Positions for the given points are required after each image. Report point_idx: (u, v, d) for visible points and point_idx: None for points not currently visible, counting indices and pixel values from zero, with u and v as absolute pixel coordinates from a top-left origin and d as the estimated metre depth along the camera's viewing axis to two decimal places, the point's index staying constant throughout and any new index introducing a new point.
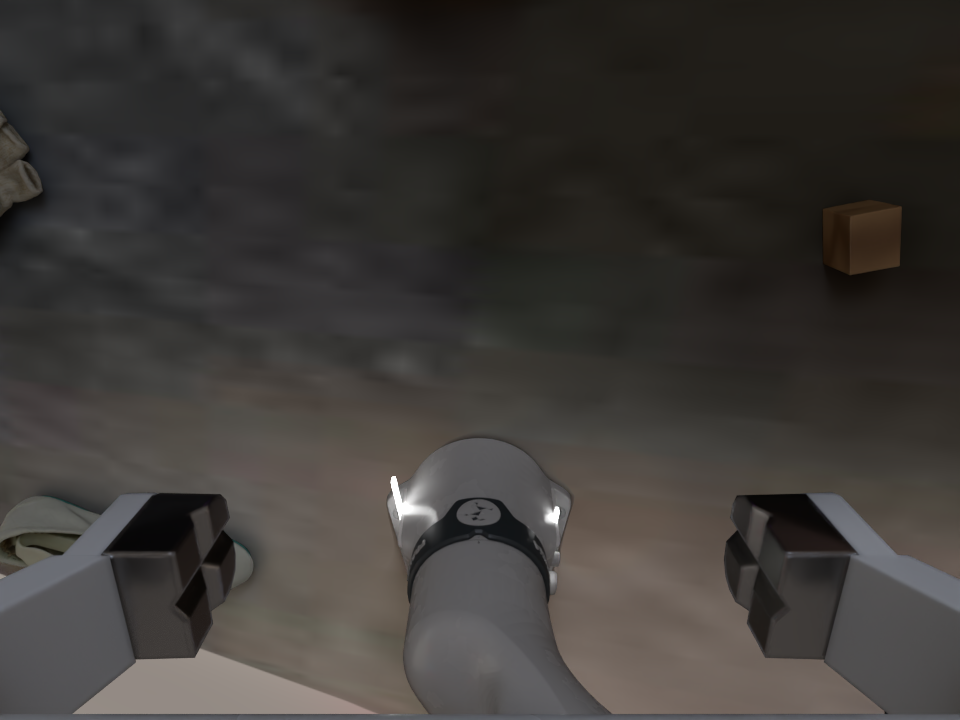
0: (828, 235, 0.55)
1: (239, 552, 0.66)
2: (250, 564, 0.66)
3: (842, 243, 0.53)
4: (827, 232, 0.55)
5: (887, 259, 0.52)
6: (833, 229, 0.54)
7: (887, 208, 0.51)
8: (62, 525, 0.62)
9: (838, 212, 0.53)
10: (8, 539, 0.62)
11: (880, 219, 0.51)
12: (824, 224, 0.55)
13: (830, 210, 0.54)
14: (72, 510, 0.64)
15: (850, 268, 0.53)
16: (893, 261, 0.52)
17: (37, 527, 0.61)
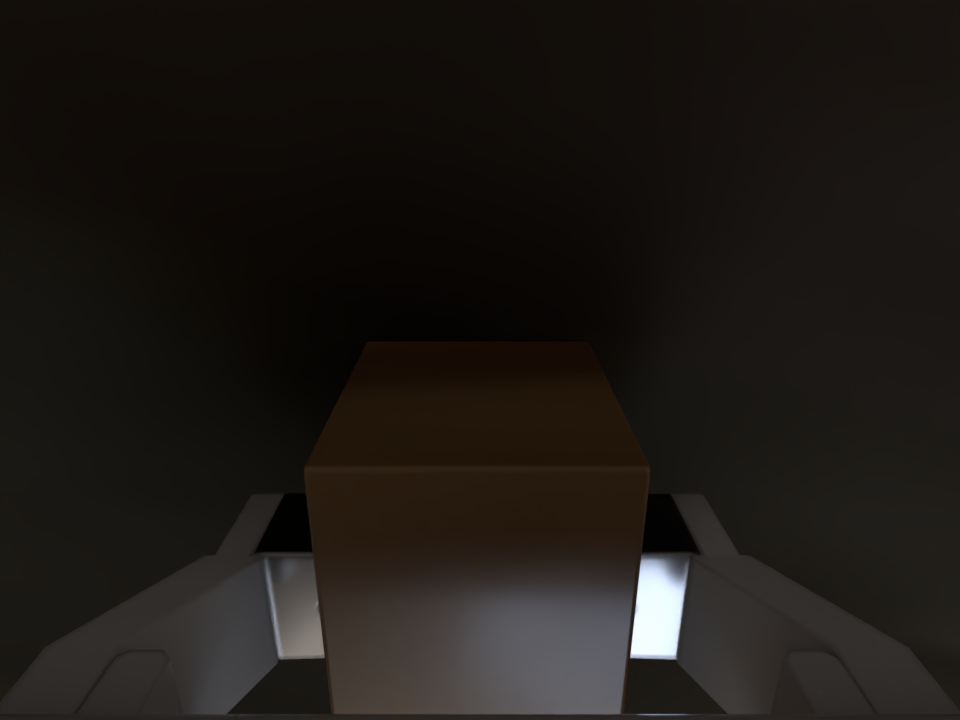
0: None
1: None
2: None
3: None
4: None
5: (391, 525, 0.08)
6: None
7: None
8: None
9: None
10: None
11: None
12: None
13: None
14: None
15: (639, 506, 0.08)
16: (350, 506, 0.07)
17: None
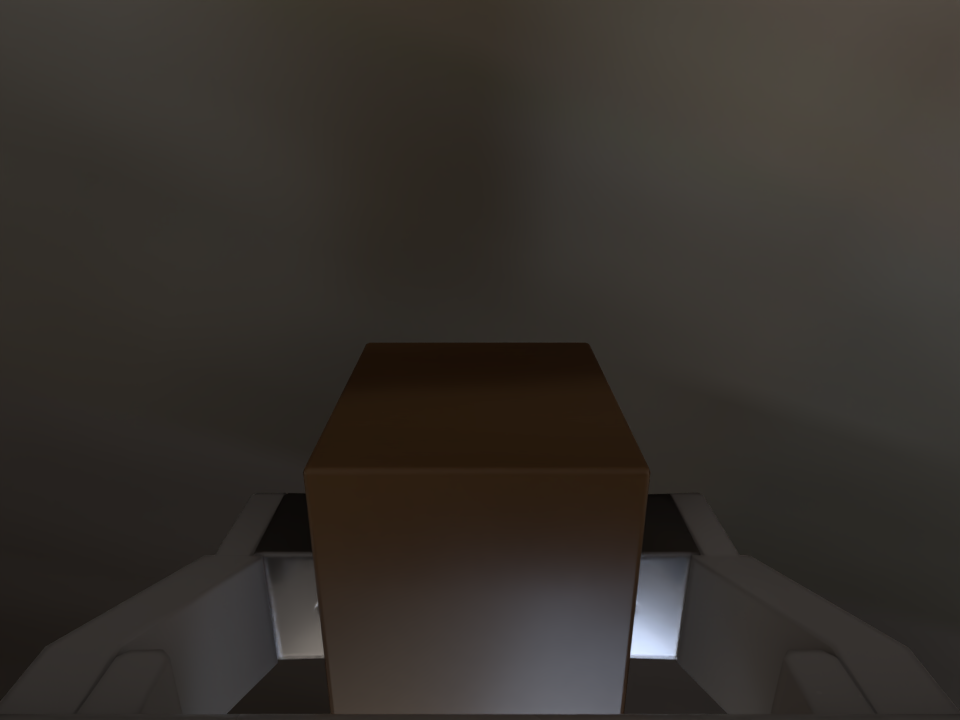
0: None
1: None
2: None
3: None
4: None
5: (391, 526, 0.08)
6: None
7: None
8: None
9: None
10: None
11: None
12: None
13: None
14: None
15: (639, 508, 0.08)
16: (350, 508, 0.07)
17: None
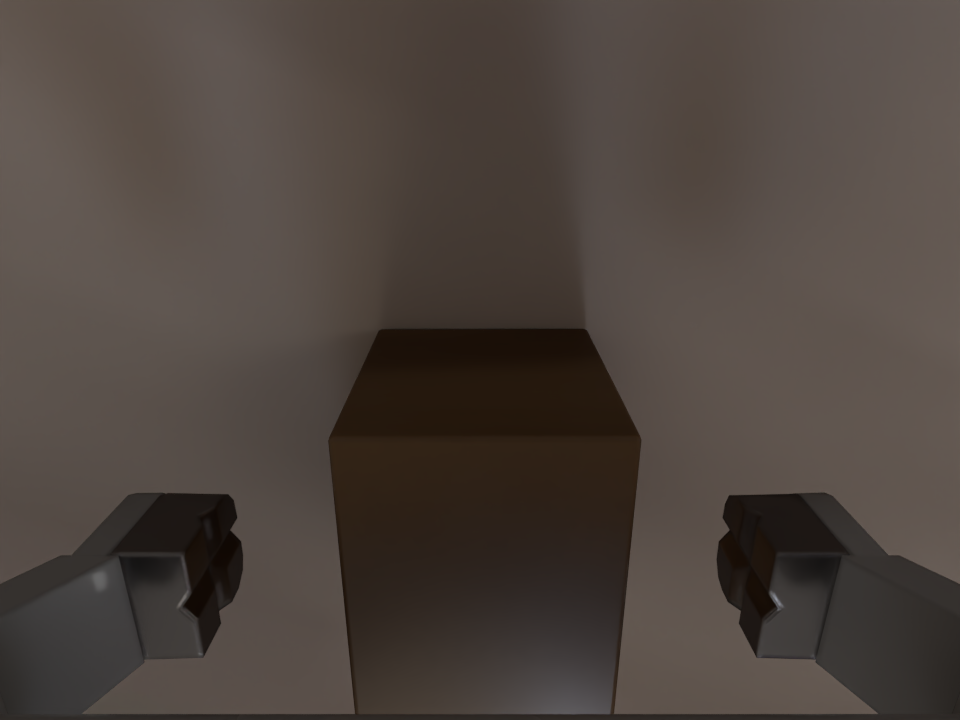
0: None
1: None
2: None
3: None
4: None
5: (407, 489, 0.08)
6: None
7: None
8: None
9: None
10: None
11: (459, 684, 0.10)
12: None
13: None
14: None
15: (631, 472, 0.08)
16: (370, 472, 0.08)
17: None
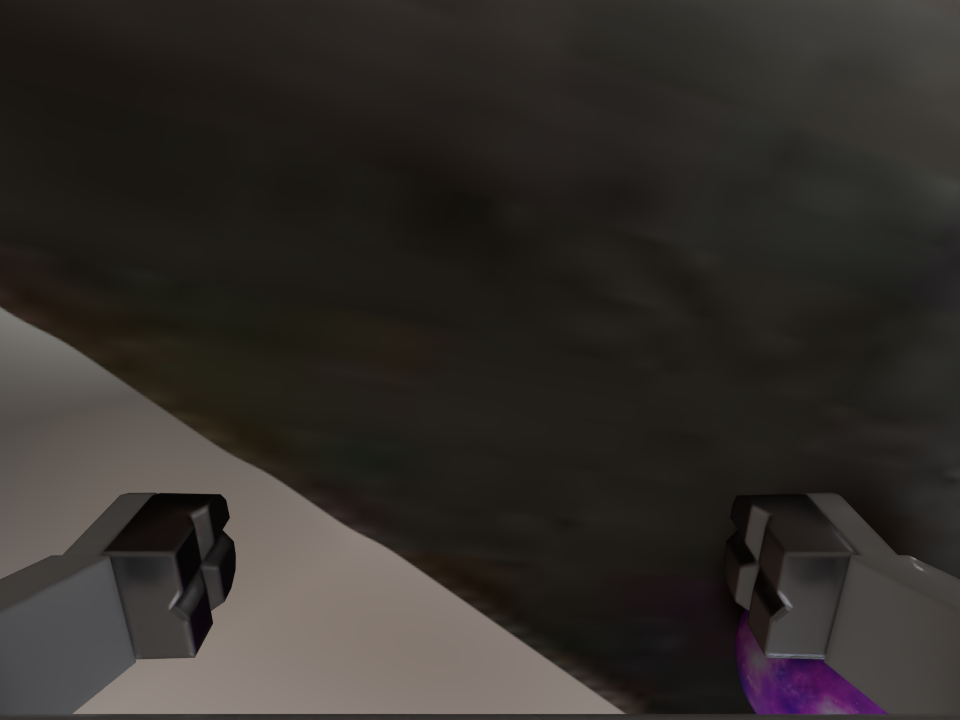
0: None
1: None
2: None
3: None
4: None
5: None
6: None
7: None
8: None
9: None
10: None
11: None
12: None
13: None
14: None
15: None
16: None
17: None
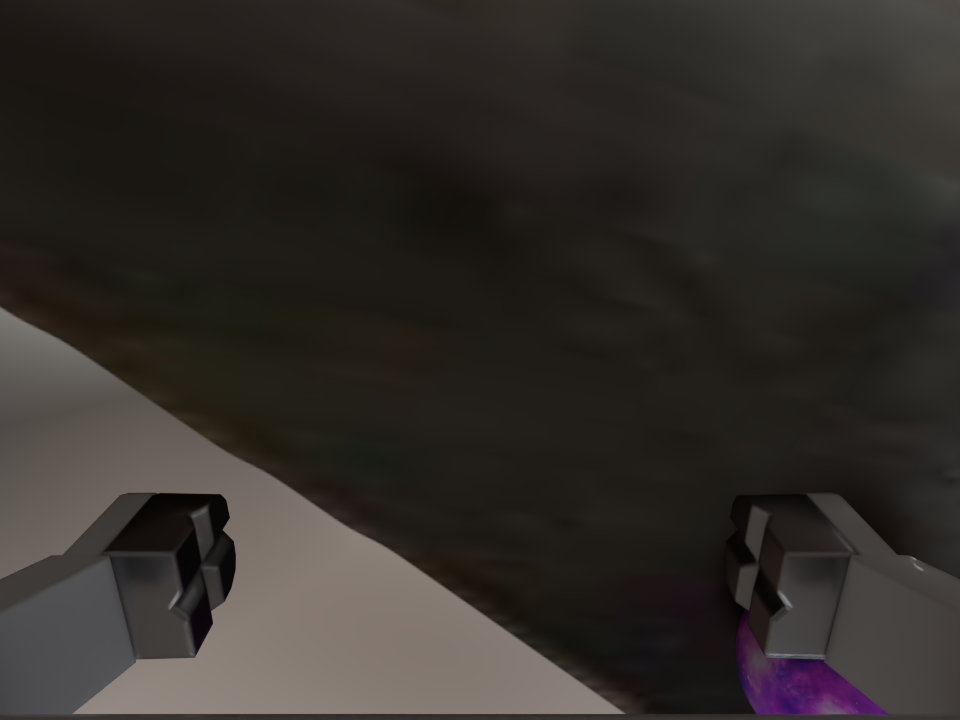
0: None
1: None
2: None
3: None
4: None
5: None
6: None
7: None
8: None
9: None
10: None
11: None
12: None
13: None
14: None
15: None
16: None
17: None
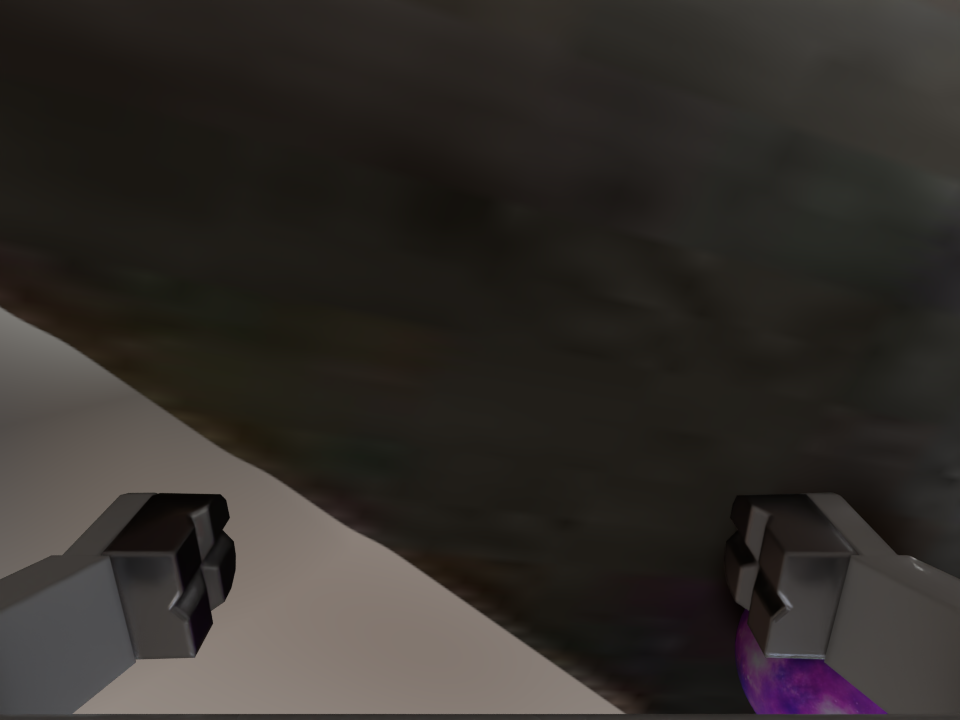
0: None
1: None
2: None
3: None
4: None
5: None
6: None
7: None
8: None
9: None
10: None
11: None
12: None
13: None
14: None
15: None
16: None
17: None
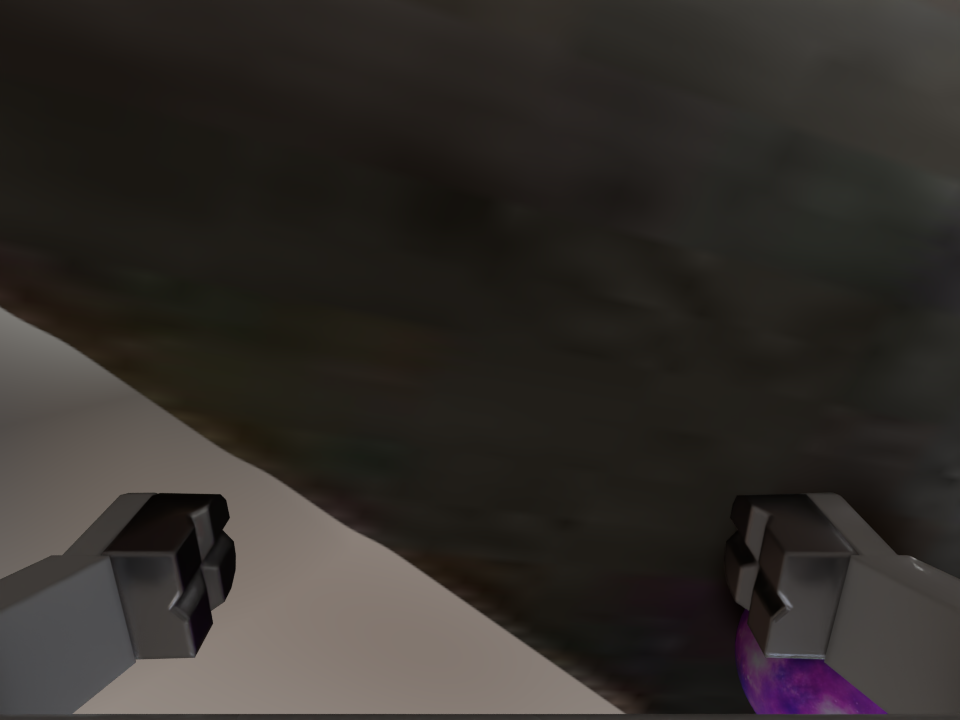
0: None
1: None
2: None
3: None
4: None
5: None
6: None
7: None
8: None
9: None
10: None
11: None
12: None
13: None
14: None
15: None
16: None
17: None
